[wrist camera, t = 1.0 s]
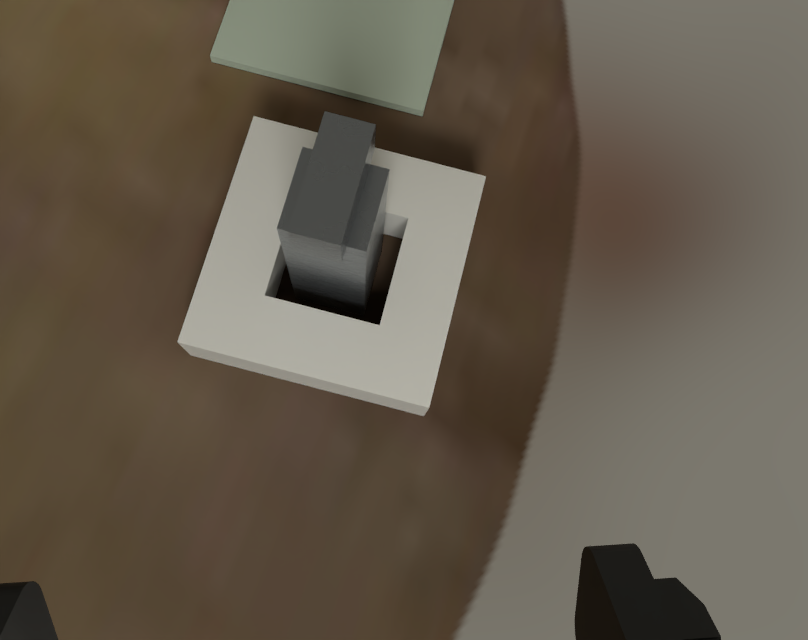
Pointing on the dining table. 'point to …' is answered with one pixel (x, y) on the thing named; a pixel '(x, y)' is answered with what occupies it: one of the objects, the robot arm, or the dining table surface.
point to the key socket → (320, 330)
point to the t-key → (335, 216)
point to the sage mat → (340, 46)
